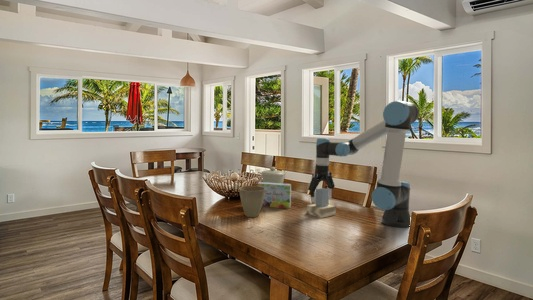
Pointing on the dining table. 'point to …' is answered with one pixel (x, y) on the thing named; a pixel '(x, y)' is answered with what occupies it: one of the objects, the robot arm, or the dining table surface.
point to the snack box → (276, 195)
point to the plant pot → (252, 199)
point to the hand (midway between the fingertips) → (321, 200)
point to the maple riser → (321, 210)
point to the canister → (273, 176)
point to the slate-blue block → (321, 197)
